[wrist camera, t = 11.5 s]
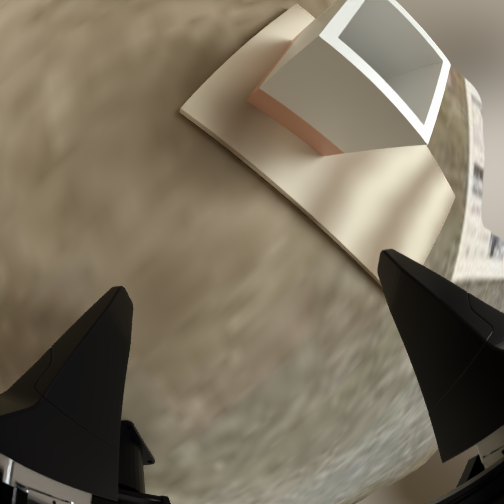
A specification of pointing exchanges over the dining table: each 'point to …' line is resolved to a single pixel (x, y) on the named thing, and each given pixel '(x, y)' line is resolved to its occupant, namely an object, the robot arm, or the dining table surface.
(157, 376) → the dining table surface
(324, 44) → the sleeve
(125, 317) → the robot arm
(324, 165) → the pin board
